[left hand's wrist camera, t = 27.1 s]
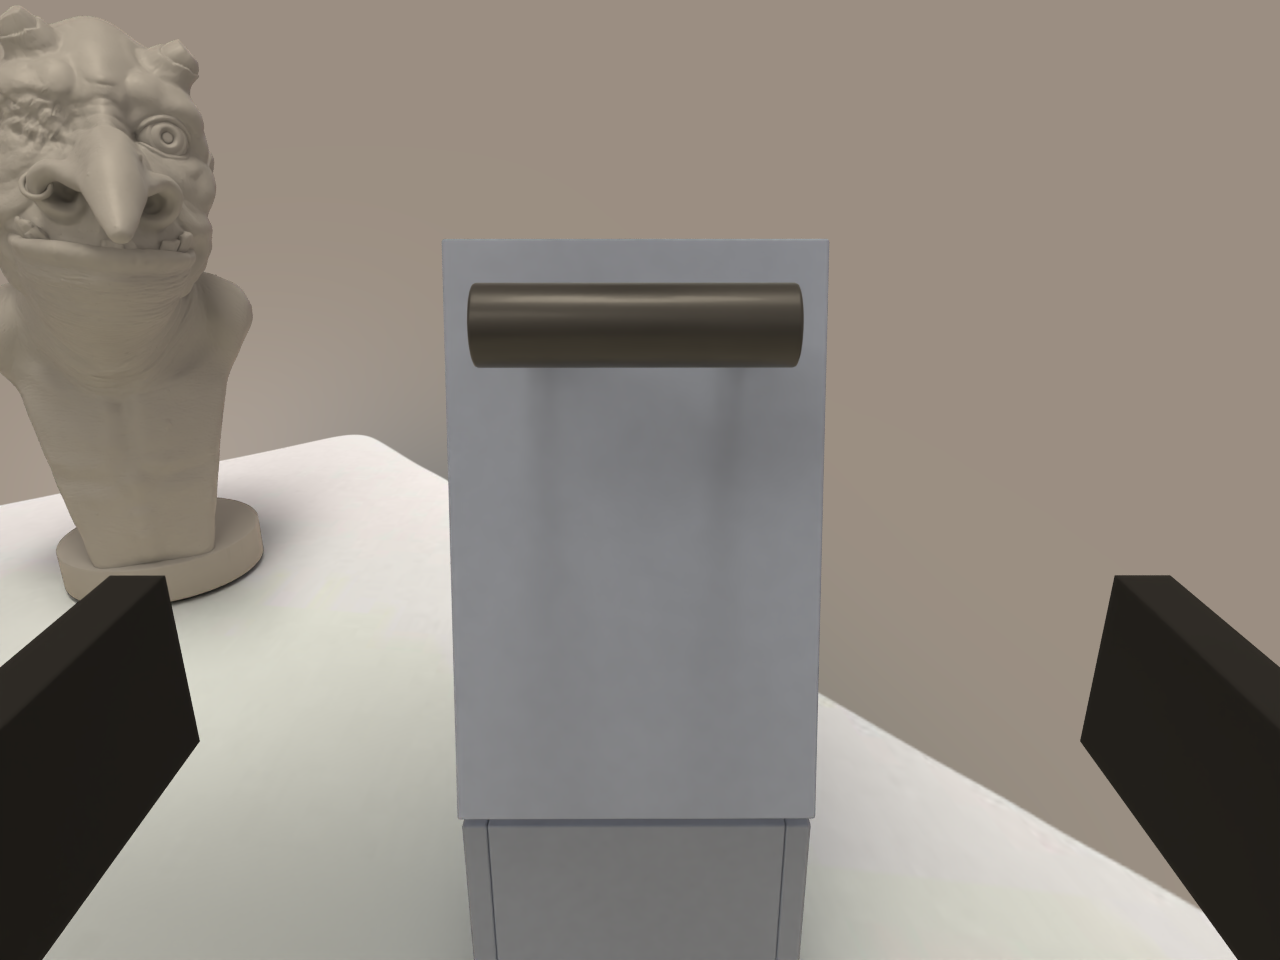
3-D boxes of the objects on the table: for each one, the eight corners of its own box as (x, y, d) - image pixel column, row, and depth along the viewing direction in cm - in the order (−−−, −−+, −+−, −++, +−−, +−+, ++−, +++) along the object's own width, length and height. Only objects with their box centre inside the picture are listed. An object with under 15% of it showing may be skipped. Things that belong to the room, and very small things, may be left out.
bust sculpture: (-28, 726, 47) (-270, -42, 35) (56, 544, 68) (-76, 23, 56) (299, 663, 53) (193, -18, 40) (284, 512, 74) (211, 32, 61)
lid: (448, 243, 24) (348, 179, 16) (822, 243, 24) (920, 179, 16) (463, 805, 26) (382, 1011, 18) (809, 804, 26) (890, 1009, 18)
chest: (533, 776, 44) (523, 579, 40) (739, 775, 44) (749, 579, 40) (484, 1086, 30) (461, 826, 26) (789, 1085, 30) (811, 825, 26)
